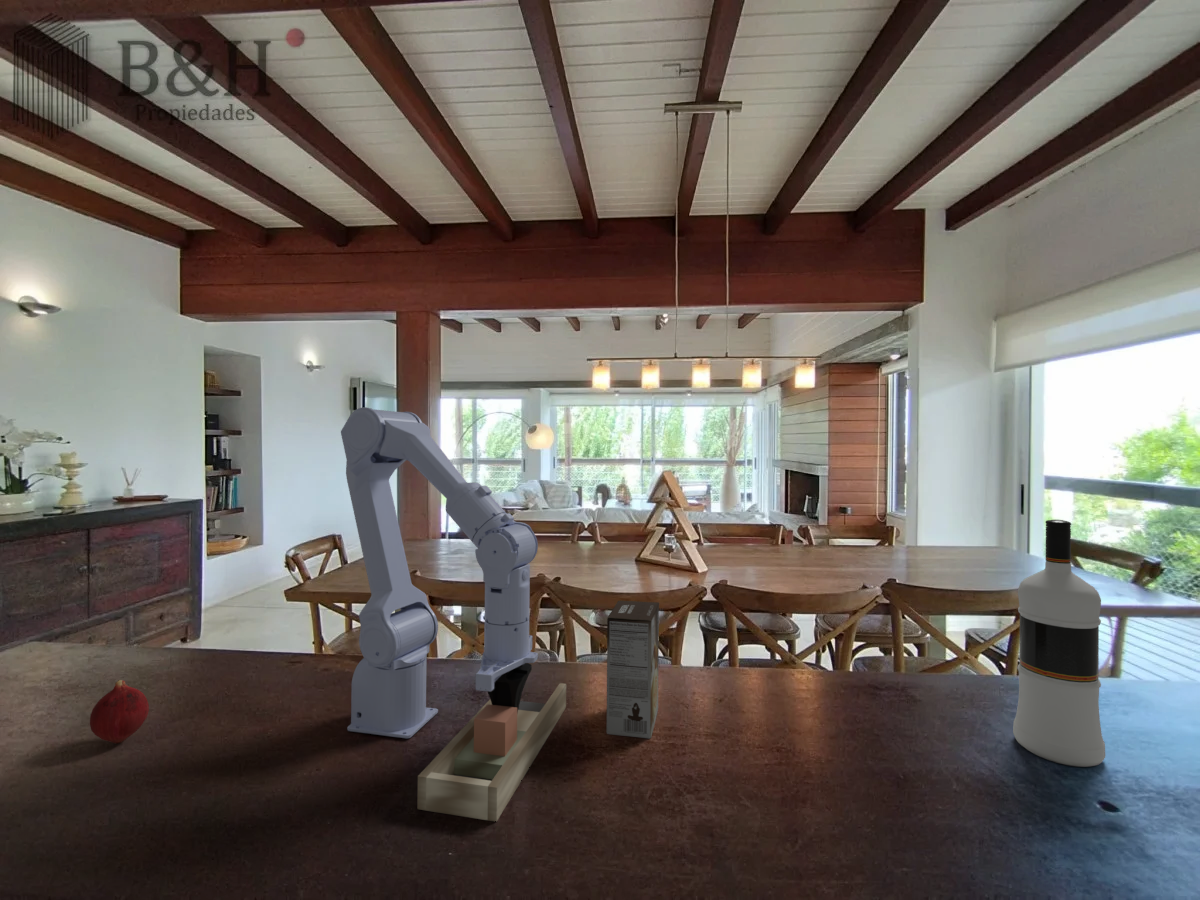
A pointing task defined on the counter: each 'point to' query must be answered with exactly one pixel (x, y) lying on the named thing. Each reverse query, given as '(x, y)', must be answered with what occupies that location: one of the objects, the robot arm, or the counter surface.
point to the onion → (119, 713)
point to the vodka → (1059, 660)
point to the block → (495, 730)
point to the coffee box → (632, 668)
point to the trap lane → (487, 765)
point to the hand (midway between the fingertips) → (506, 724)
